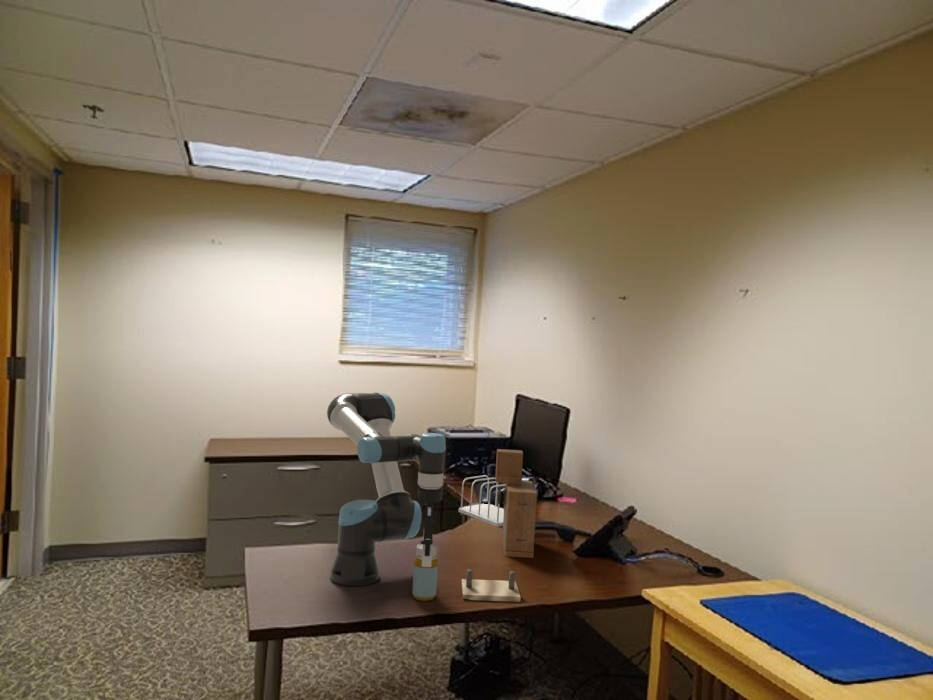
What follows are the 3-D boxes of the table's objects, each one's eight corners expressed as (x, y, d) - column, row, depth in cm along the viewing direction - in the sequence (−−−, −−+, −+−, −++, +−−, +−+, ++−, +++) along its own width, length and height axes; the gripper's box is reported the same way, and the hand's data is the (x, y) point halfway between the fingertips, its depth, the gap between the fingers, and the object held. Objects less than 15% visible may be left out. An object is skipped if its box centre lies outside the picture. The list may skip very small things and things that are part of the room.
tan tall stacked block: (491, 538, 246) (497, 448, 245) (528, 540, 246) (533, 450, 245) (493, 555, 227) (499, 458, 226) (533, 557, 227) (539, 460, 226)
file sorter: (458, 512, 280) (460, 477, 280) (486, 507, 292) (488, 473, 291) (497, 527, 261) (499, 489, 261) (526, 521, 273) (528, 485, 273)
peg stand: (463, 599, 187) (464, 577, 187) (461, 583, 199) (462, 563, 199) (520, 601, 188) (521, 580, 188) (515, 585, 200) (516, 565, 200)
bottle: (436, 592, 191) (438, 543, 191) (435, 602, 184) (438, 551, 184) (412, 591, 191) (415, 542, 191) (411, 601, 184) (414, 549, 184)
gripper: (443, 497, 174) (439, 574, 175) (442, 477, 199) (439, 545, 200) (416, 496, 174) (412, 573, 174) (418, 476, 199) (415, 544, 199)
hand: (426, 558), depth 187 cm, fingers open, 13 cm apart
